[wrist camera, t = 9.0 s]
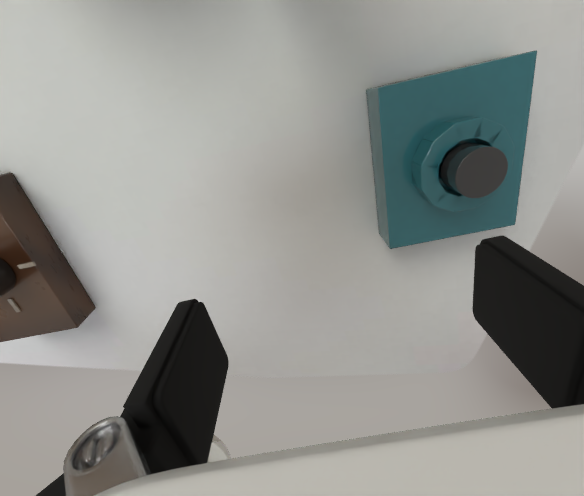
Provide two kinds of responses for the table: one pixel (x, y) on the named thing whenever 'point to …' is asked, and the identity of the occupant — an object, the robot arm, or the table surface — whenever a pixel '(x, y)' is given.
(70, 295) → the panel
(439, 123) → the teal push button box
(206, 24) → the table surface
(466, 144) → the dark grey push button
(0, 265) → the dial
